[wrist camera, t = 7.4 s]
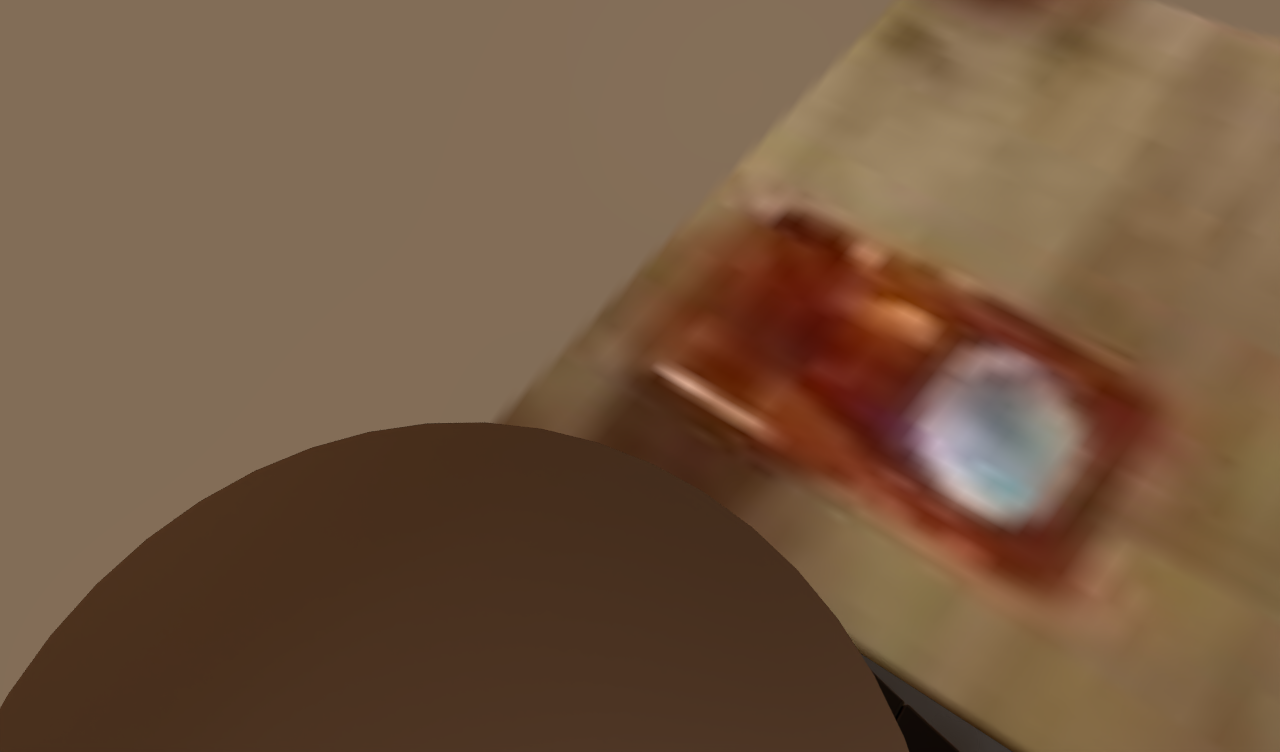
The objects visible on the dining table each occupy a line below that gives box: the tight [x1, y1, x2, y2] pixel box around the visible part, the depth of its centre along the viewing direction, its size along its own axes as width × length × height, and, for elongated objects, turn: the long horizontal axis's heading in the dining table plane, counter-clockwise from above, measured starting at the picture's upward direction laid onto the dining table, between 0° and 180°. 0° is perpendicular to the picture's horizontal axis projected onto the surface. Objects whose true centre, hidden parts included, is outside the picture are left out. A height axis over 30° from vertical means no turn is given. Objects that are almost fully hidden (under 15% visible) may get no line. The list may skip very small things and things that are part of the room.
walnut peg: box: [0, 423, 909, 752], centre depth 10 cm, size 4×4×16 cm
